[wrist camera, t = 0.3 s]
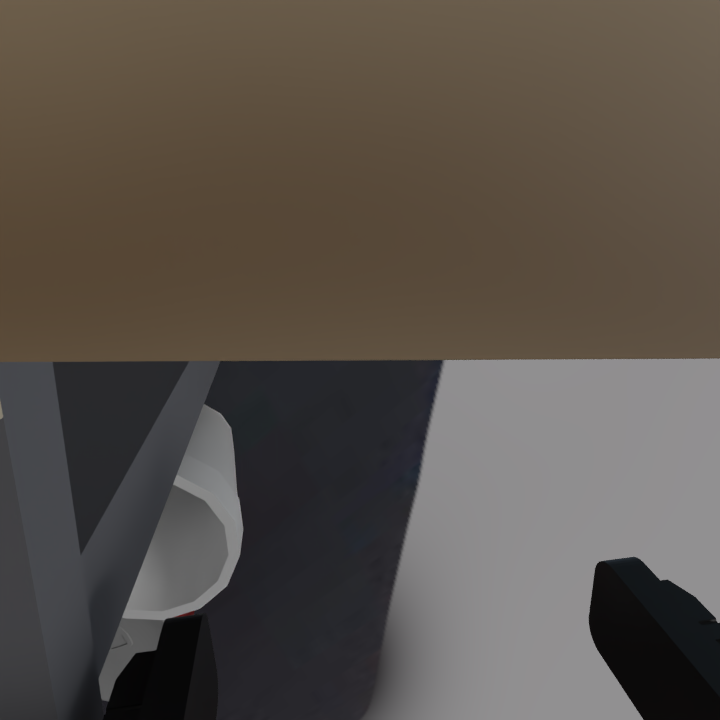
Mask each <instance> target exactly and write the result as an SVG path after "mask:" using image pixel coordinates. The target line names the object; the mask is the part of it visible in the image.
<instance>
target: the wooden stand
mask: <svg viewBox="0 0 720 720" xmlns="http://www.w3.org/2000/svg"><path fill="white" fill-rule="evenodd" d="M219 363H220V361H107V362H0V402H1V407H2V413H3V418H2V419H0V720H103V717H104V713H103V706H102V699H101V692H100V686H99V676H100V674H101V671H102V668H103V666H104V663H105V661H106V658H107V655H108V653H109V650H110V647H111V645H112V642H113V640H114V637H115V634H116V632H117V629H118V627H119V624H120V621H121V619H122V616H123V614H124V611H125V608H126V606H127V603H128V601H129V598H130V595H131V593H132V590H133V587H134V585H135V582H136V580H137V577H138V574H139V572H140V569H141V567H142V564H143V561H144V559H145V556H146V554H147V551H148V548H149V546H150V543H151V540H152V538H153V535H154V533H155V530H156V527H157V525H158V522H159V520H160V517H161V514H162V512H163V509H164V507H165V504H166V501H167V499H168V496H169V493H170V491H171V488H172V486H173V483H174V480H175V478H176V475H177V473H178V470H179V467H180V465H181V462H182V460H183V457H184V454H185V452H186V449H187V447H188V444H189V441H190V439H191V436H192V433H193V431H194V428H195V426H196V423H197V420H198V418H199V415H200V413H201V410H202V407H203V405H204V402H205V400H206V397H207V394H208V392H209V389H210V386H211V384H212V381H213V379H214V376H215V373H216V371H217V368H218V366H219Z"/></svg>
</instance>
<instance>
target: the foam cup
mask: <svg viewBox="0 0 720 720" xmlns="http://www.w3.org/2000/svg"><path fill="white" fill-rule="evenodd" d="M242 535H243V524H242V517H241V509H240V502H239V498H238V496H237V485H236V471H235V458H234V446H233V439H232V431H231V427H230V426H229V425H228V423H227V422H226V420H225V419H224V417H223V416H222V415H221V413H219V412H217V411H215V410H214V409H212V408H210V407H208V406H206V405H205V404H204V405H203V407H202V410H201V413H200V415H199V418H198V420H197V423H196V426H195V428H194V431H193V433H192V436H191V439H190V441H189V444H188V447H187V449H186V452H185V454H184V457H183V460H182V462H181V465H180V467H179V470H178V473H177V475H176V478H175V480H174V483H173V486H172V488H171V491H170V493H169V496H168V499H167V501H166V504H165V507H164V509H163V512H162V514H161V517H160V520H159V522H158V525H157V527H156V530H155V533H154V535H153V538H152V540H151V543H150V546H149V548H148V551H147V554H146V556H145V559H144V561H143V564H142V567H141V569H140V572H139V574H138V577H137V580H136V582H135V585H134V587H133V590H132V593H131V595H130V598H129V601H128V603H127V606H126V608H125V611H124V614H123V616H122V618H126V619H149V620H165V619H167V618H172V617H175V616H179V615H182V614H185V613H188V612H191V611H194V610H197V609H200V608H202V607H203V606H204V605H205V604H206V603H207V602H209V601H210V600H211V599H212V598H213V597H215V596H216V595H217V594H218V593H219V592H220V591H222V590H223V589H224V588H225V587H226V586H227V585H228V583H229V580H230V578H231V575H232V573H233V571H234V568H235V566H236V563H237V561H238V559H239V556H240V551H241V543H242Z"/></svg>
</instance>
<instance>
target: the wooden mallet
mask: <svg viewBox="0 0 720 720" xmlns="http://www.w3.org/2000/svg"><path fill="white" fill-rule="evenodd" d="M681 358H682V359H684V358H685V359H686V358H687V359H688V358H689V359H690V358H691V359H694V358H695V359H696V358H720V0H0V362H107V361H304V360H483V359H485V360H492V359H493V360H494V359H495V360H496V359H681ZM2 418H3V413H2V407H1V402H0V419H2Z"/></svg>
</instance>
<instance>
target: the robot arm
mask: <svg viewBox="0 0 720 720" xmlns="http://www.w3.org/2000/svg"><path fill="white" fill-rule="evenodd" d="M589 626H590V632H591V635H592V638H593V641H594V643H595V646H596V648H597V650H598V651H599V653H600V654H601V656H602V657H603V659H604V660H605V662H606V663H607V665H608V666H609V668H610V670H611V671H612V672H613V674H614V675H615V677H616V678H617V680H618V682H619V683H620V684H621V686H622V688H623V689H624V691H625V692H626V693H627V695H628V697H629V698H630V700H631V701H632V703H633V704H634V706H635V707H636V709H637V710H638V712H639V713H640V715H641V716H642V718H643V719H644V720H720V623H717V621H716V618H715V617H714V616H713V615H712V614H711V613H710V612H709V611H708V610H707V609H706V608H705V607H704V606H703V605H702V604H701V603H700V602H699V601H698V600H697V598H696V597H694V596H693V595H691V594H689V593H688V592H686V591H685V590H683V589H682V588H680V587H678V586H677V585H675V584H674V583H672V582H671V581H669V580H662V581H660V580H659V579H658V578H657V577H656V576H655V574H654V573H653V572H652V571H651V570H650V569H649V568H648V567H647V566H646V565H645V564H644V563H643V562H642V561H641V560H640V559H638V558H636V557H630V558H622V559H615V560H607V561H601V562H599V563H598V564H597V565H596V568H595V575H594V582H593V590H592V598H591V605H590V613H589ZM217 706H218V676H217V668H216V662H215V657H214V651H213V645H212V639H211V633H210V628H209V622H208V617H207V615H206V613H203V614H196V615H188V616H181V617H173V618H167V619H165V621H164V623H163V626H162V630H161V633H160V637H159V641H158V645H157V649H156V650H154V651H147V652H140V653H135V655H134V656H133V657H132V659H131V660H130V661H129V663H128V664H127V665H126V667H125V668H124V669H123V671H122V672H121V673H120V675H119V676H118V677H117V679H116V681H115V684H114V687H113V690H112V693H111V696H110V699H109V702H108V705H107V708H106V715H104V717H103V720H216V715H217Z"/></svg>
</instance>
